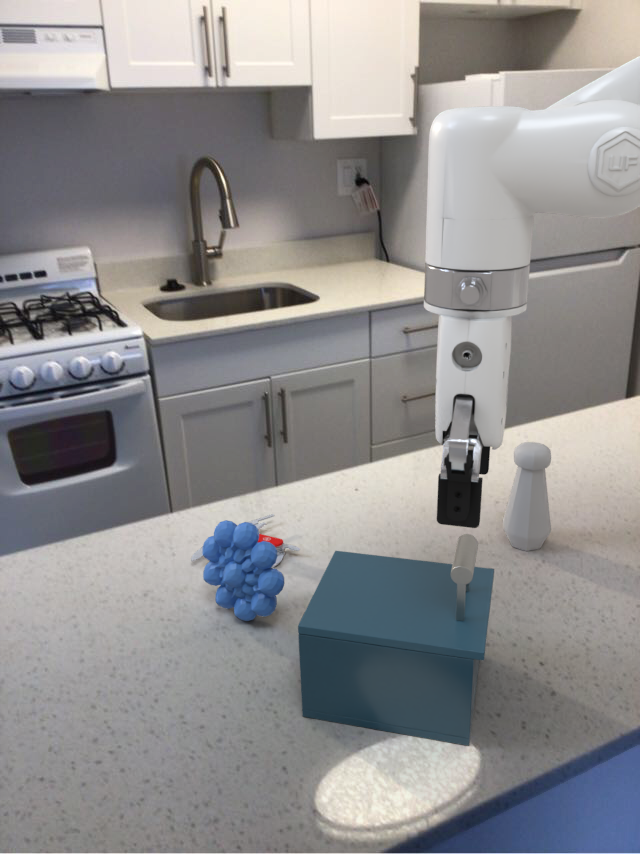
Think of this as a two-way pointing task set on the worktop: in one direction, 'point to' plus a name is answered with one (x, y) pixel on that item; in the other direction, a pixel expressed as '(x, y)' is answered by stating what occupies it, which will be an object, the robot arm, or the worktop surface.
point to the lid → (405, 602)
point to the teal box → (388, 688)
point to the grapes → (242, 570)
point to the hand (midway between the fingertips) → (464, 496)
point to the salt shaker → (529, 498)
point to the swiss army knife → (275, 541)
